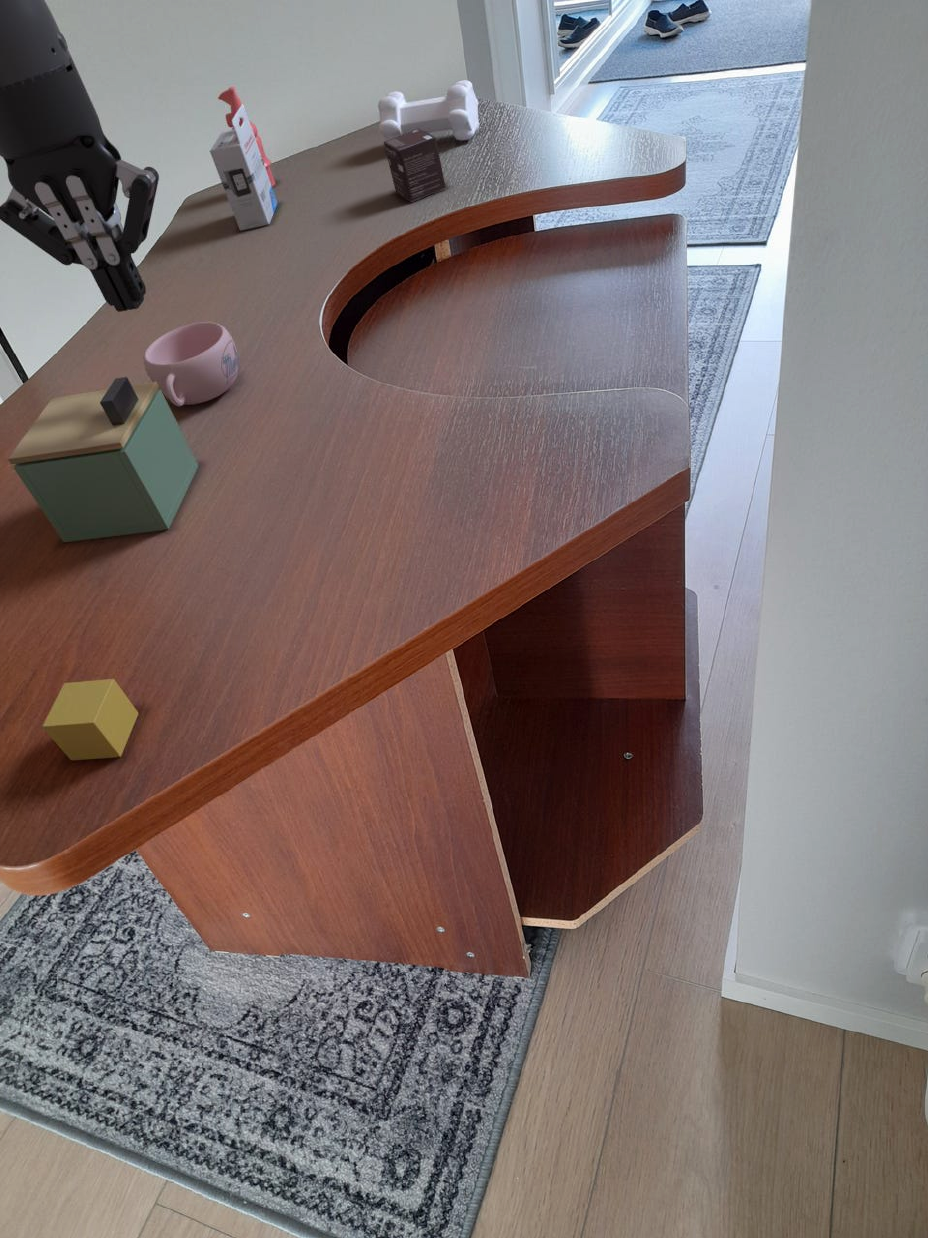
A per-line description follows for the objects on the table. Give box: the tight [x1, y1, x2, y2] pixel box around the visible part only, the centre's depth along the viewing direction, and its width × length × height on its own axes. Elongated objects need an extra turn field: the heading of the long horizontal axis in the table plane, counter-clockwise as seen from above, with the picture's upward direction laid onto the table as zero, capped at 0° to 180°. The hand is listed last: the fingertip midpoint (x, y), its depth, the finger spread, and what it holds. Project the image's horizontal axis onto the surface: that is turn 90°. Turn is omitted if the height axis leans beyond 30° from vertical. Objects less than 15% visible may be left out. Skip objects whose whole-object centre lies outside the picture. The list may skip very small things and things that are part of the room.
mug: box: [143, 321, 239, 407], centre depth 99 cm, size 12×10×6 cm
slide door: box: [7, 376, 159, 465], centre depth 81 cm, size 10×11×3 cm
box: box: [383, 129, 447, 203], centre depth 130 cm, size 6×6×7 cm
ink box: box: [209, 103, 278, 231], centre depth 134 cm, size 9×5×15 cm, turn 179°
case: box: [13, 389, 199, 543], centre depth 85 cm, size 10×11×9 cm
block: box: [42, 678, 139, 761], centre depth 65 cm, size 4×4×4 cm
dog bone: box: [377, 79, 480, 141], centre depth 145 cm, size 15×9×8 cm, turn 76°
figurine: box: [217, 86, 276, 188], centre depth 145 cm, size 5×5×15 cm
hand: (131, 305), depth 73 cm, fingers closed
